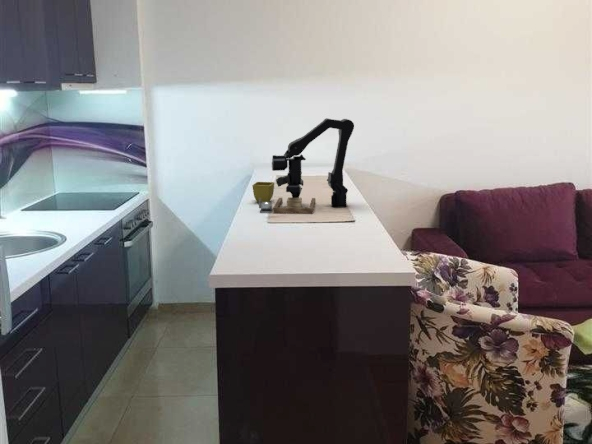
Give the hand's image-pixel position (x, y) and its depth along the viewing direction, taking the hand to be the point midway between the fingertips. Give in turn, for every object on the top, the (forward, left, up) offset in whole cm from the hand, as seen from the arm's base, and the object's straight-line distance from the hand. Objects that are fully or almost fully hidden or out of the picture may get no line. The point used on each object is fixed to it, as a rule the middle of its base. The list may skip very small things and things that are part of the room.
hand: (295, 204), depth 284 cm
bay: (0, +1, -2) cm, 2 cm away
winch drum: (+12, +10, -2) cm, 15 cm away
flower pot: (+16, -11, -2) cm, 20 cm away
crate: (0, +5, -2) cm, 5 cm away
